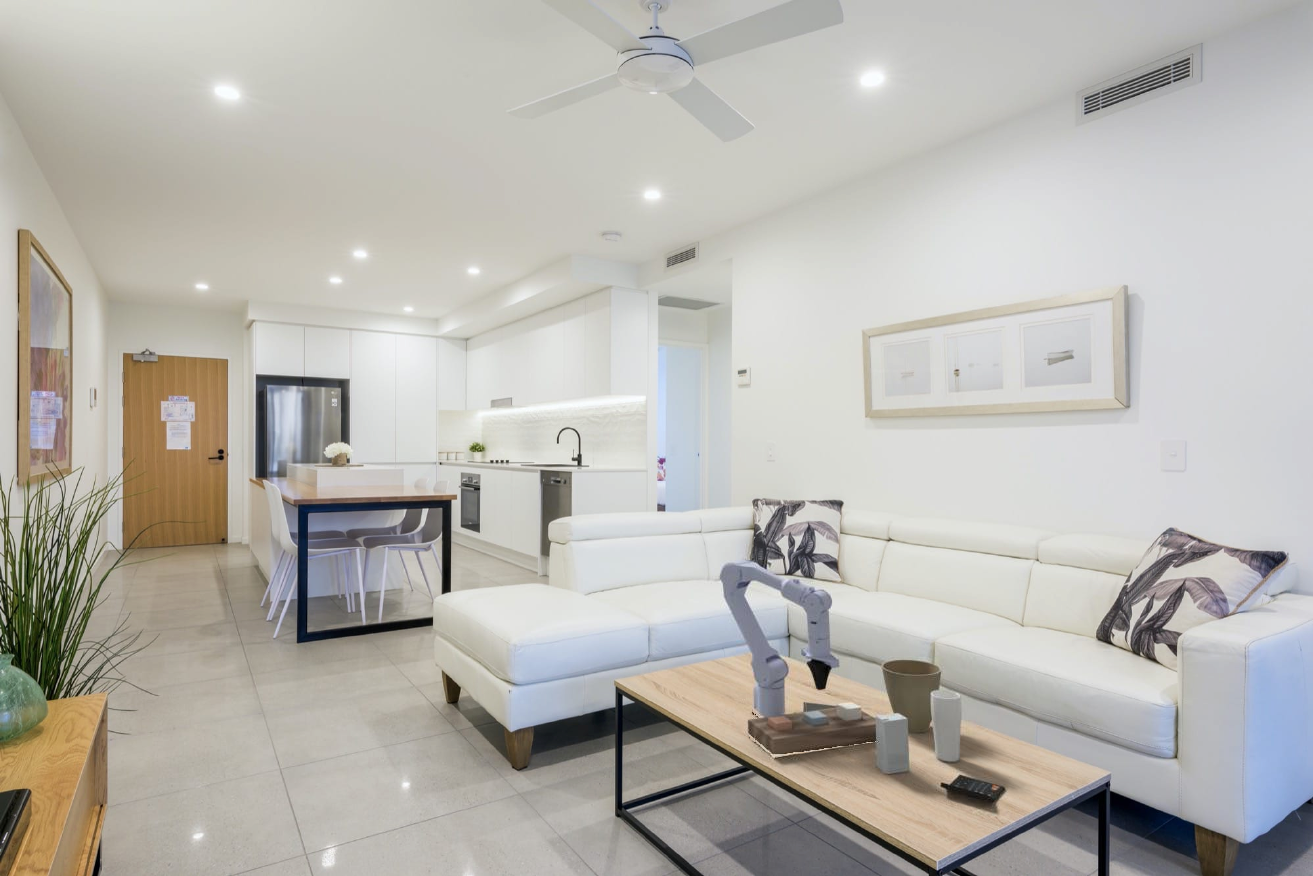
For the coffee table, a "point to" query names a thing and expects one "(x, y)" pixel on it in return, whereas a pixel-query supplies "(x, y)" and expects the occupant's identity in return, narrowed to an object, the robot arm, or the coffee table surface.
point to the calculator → (975, 788)
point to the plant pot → (912, 690)
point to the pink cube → (779, 723)
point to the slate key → (814, 718)
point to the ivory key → (848, 711)
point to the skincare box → (892, 743)
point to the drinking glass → (946, 724)
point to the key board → (813, 732)
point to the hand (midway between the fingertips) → (820, 688)
